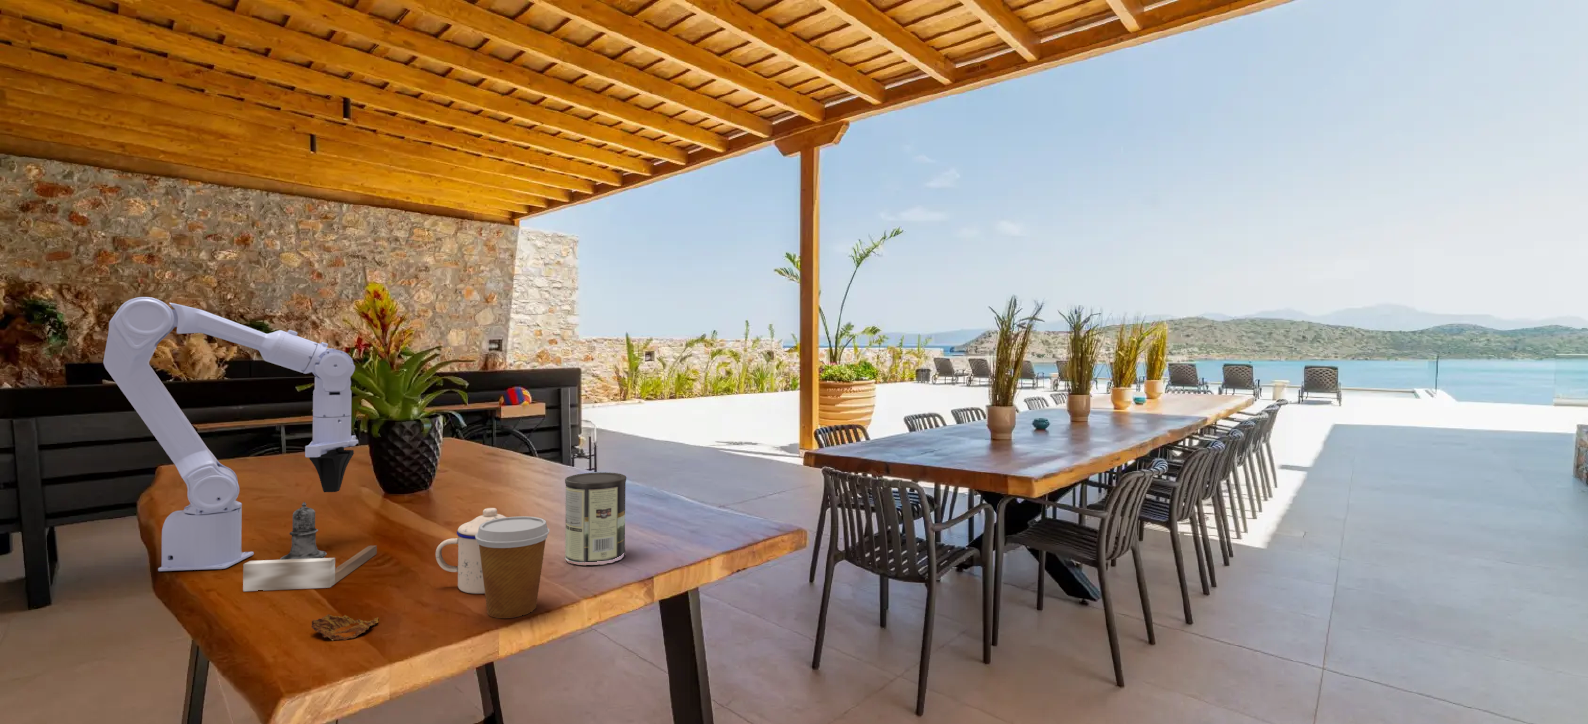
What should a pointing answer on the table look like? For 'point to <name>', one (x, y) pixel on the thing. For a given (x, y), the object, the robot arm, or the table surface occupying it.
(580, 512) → the coffee can
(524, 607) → the disposable coffee cup
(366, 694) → the table surface
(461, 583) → the teacup with lid
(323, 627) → the leaf
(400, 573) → the table surface
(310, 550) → the grey stone finial
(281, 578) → the guide channel
